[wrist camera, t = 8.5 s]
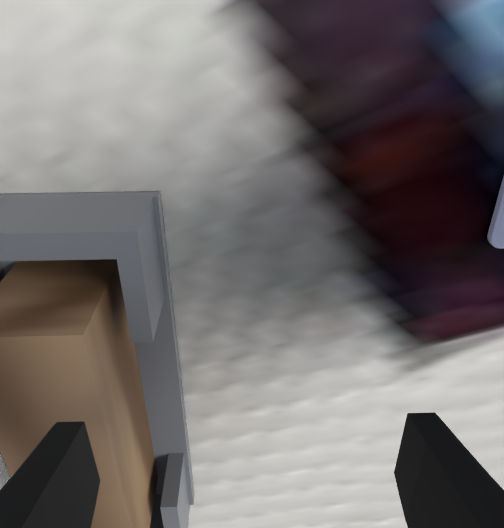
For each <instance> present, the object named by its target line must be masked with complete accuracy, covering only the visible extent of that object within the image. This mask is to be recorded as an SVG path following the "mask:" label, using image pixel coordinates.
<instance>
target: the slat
mask: <svg viewBox="0 0 504 528" xmlns="http://www.w3.org/2000/svg"><path fill="white" fill-rule="evenodd" d="M79 421H84V422H85V425H86V429H87V433H88V436H89V440H90V444H91V448H92V451H93V455H94V459H95V462H96V466H97V470H98V473H99V477H100V485H99V490H98V495H97V501H96V506H95V511H94V515H93V520H92V525H91V528H150V523H151V517H152V511H153V505H154V500H155V494H156V488H157V482H158V475H157V469H156V463H155V458H154V452H153V446H152V440H151V434H150V429H149V423H148V417H147V411H146V405H145V400H144V394H143V388H142V382H141V376H140V371H139V365H138V359H137V353H136V347H135V342H131V338H130V333H129V327H128V321H127V315H126V310H125V304H124V298H123V293H122V287H121V281H120V276H119V270H118V264H117V259H100V260H45V261H18V262H17V263H16V264H15V265H14V267H13V268H12V269H11V270H10V271H9V272H8V273H7V275H6V276H5V277H4V278H3V279H2V280H1V282H0V453H1V456H2V458H3V460H4V463H5V465H6V467H7V470H8V472H9V475H10V477H12V476H13V474H14V473H15V472H16V471H17V470H18V468H19V467H20V466H21V465H22V464H23V462H24V461H25V460H26V459H27V457H28V456H29V455H30V454H31V452H32V451H33V450H34V449H35V447H36V446H37V445H38V444H39V442H40V441H41V440H42V439H43V437H44V436H45V435H46V434H47V432H48V431H49V430H50V429H51V427H52V426H53V425H54V424H55V423H56V422H79Z"/></svg>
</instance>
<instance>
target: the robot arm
mask: <svg viewBox="0 0 504 528" xmlns="http://www.w3.org/2000/svg"><path fill="white" fill-rule="evenodd" d="M487 239H488V241H489V243H490V244H491V245H492V246H494V247H495V248H500V249H503V248H504V176H503V180H502V184H501V187H500V191H499V194H498V198H497V202H496V205H495V209H494V213H493V216H492V220H491V224H490V227H489V231H488V235H487ZM394 474H395V478H396V482H397V487H398V491H399V495H400V500H401V504H402V508H403V512H404V516H405V520H406V523H407V526H408V528H504V490H503V489H502V488H501V487H500V486H499V485H498V483H497V482H496V481H495V480H494V479H493V478H492V477H491V476H490V475H489V474H488V472H487V471H486V470H485V469H484V468H483V467H482V466H481V465H480V464H479V462H478V461H477V460H476V459H475V458H474V457H473V456H472V455H471V453H470V452H469V451H468V450H467V449H466V448H465V447H464V445H463V444H462V443H461V442H460V441H459V440H458V438H457V437H456V436H455V435H454V434H453V433H452V431H451V430H450V429H449V428H448V427H447V426H446V425H445V423H444V422H443V421H442V420H441V419H440V418H439V416H438V415H436V414H435V413H408V414H407V418H406V423H405V427H404V432H403V436H402V440H401V445H400V449H399V454H398V458H397V462H396V467H395V471H394ZM99 485H100V477H99V473H98V470H97V466H96V462H95V459H94V455H93V451H92V448H91V444H90V440H89V436H88V433H87V429H86V425H85V422H84V421H79V422H56V423H55V424H54V425H53V426H52V427H51V429H50V430H49V431H48V432H47V434H46V435H45V436H44V437H43V439H42V440H41V441H40V442H39V444H38V445H37V446H36V447H35V449H34V450H33V451H32V452H31V454H30V455H29V456H28V457H27V459H26V460H25V461H24V462H23V464H22V465H21V466H20V467H19V468H18V470H17V471H16V472H15V473H14V474H13V476H12V477H11V478H10V479H9V481H8V482H7V483H6V484H5V485H4V486H3V488H2V489H1V490H0V528H91V525H92V520H93V515H94V511H95V506H96V501H97V495H98V490H99Z"/></svg>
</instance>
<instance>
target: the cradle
mask: <svg viewBox="0 0 504 528" xmlns="http://www.w3.org/2000/svg"><path fill="white" fill-rule="evenodd" d="M100 259H117V264H118V270H119V276H120V281H121V287H122V293H123V298H124V304H125V310H126V315H127V321H128V327H129V333H130V338H131V342H135V347H136V353H137V359H138V365H139V371H140V376H141V382H142V388H143V394H144V400H145V405H146V411H147V417H148V423H149V429H150V434H151V440H152V446H153V452H154V458H155V463H156V469H157V475H158V482H157V488H156V494H155V500H154V505H153V511H152V517H151V523H150V528H188V520H189V510H190V505H192V504H194V488H193V479H192V470H191V461H190V452H189V443H188V434H187V425H186V416H185V408H184V399H183V390H182V381H181V372H180V363H179V354H178V345H177V336H176V328H175V319H174V310H173V301H172V292H171V283H170V274H169V265H168V256H167V247H166V239H165V230H164V221H163V212H162V203H161V194H160V191H142V192H78V193H15V194H0V282H1V280H2V279H3V278H4V277H5V276H6V275H7V273H8V272H9V271H10V270H11V269H12V268H13V267H14V265H15V264H16V263H17V262H18V261H45V260H100Z"/></svg>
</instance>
